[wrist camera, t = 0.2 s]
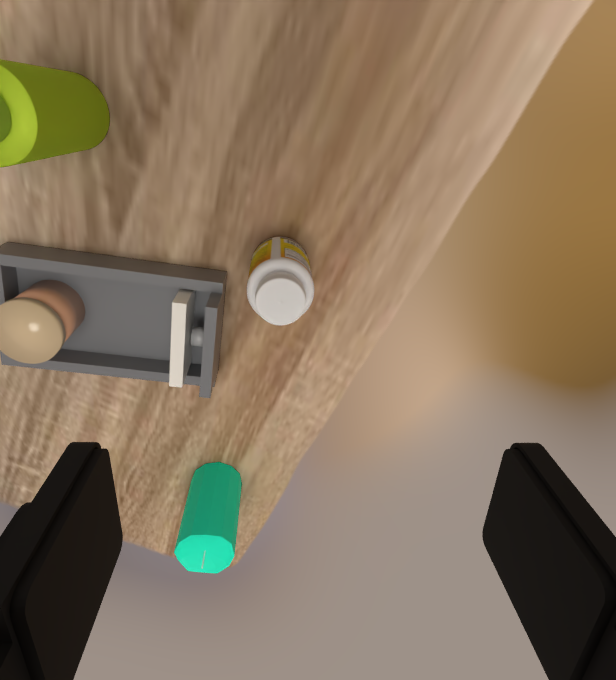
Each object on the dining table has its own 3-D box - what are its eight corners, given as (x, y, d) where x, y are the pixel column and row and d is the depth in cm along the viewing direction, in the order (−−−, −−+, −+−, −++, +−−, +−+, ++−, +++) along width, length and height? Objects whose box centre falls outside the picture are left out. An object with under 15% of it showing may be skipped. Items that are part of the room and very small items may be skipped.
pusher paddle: (183, 282, 45) (172, 302, 40) (195, 284, 45) (186, 304, 40) (179, 360, 48) (169, 386, 44) (191, 361, 48) (182, 387, 44)
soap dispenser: (11, 112, 39) (-220, 116, 21) (69, 54, 37) (-128, 3, 19) (68, 172, 41) (-97, 222, 23) (124, 119, 39) (-6, 128, 22)
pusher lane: (7, 241, 43) (-39, 264, 37) (227, 271, 46) (218, 297, 39) (20, 347, 48) (-19, 383, 42) (218, 369, 50) (209, 407, 44)
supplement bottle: (253, 291, 47) (246, 336, 38) (249, 235, 44) (241, 268, 35) (309, 290, 47) (316, 333, 38) (309, 234, 45) (316, 266, 35)
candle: (193, 459, 55) (172, 544, 45) (244, 464, 56) (235, 548, 45) (190, 497, 58) (169, 586, 47) (239, 502, 59) (229, 590, 48)
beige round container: (20, 274, 44) (-17, 297, 38) (85, 282, 44) (58, 306, 39) (26, 330, 46) (-8, 359, 41) (88, 337, 47) (63, 367, 41)
